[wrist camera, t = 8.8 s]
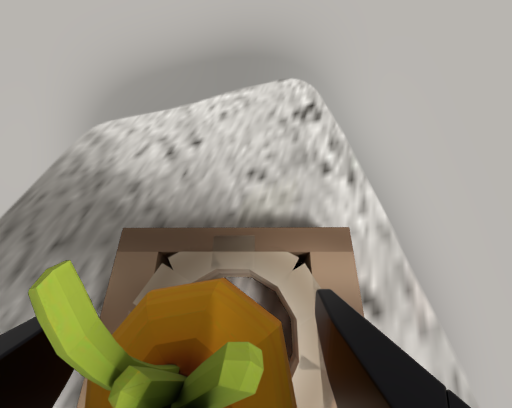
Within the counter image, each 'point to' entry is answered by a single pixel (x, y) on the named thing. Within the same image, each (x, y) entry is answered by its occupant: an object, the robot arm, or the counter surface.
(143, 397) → the carrot
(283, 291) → the hole board
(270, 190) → the counter surface
